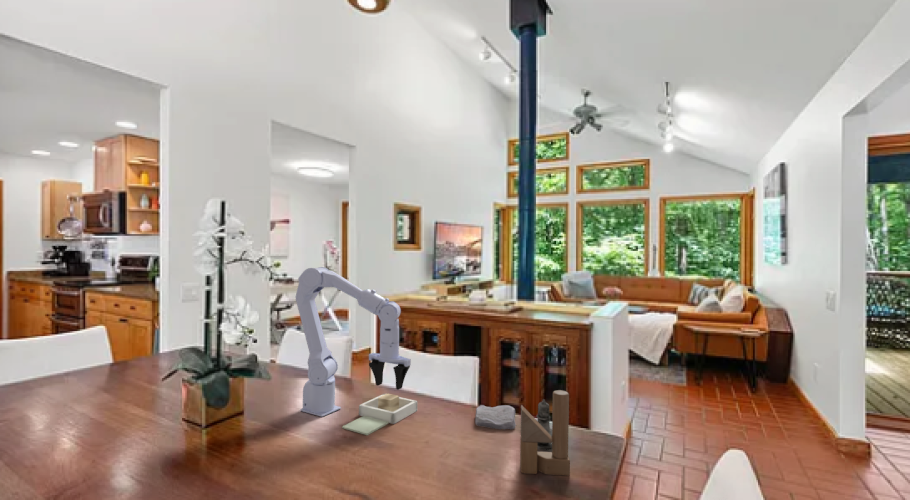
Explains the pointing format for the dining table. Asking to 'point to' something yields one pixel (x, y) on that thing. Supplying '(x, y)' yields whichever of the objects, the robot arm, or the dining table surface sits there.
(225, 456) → the dining table surface
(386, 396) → the wood block
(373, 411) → the box
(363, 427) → the pad
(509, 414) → the stone block
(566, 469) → the wooden block
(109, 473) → the dining table surface
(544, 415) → the salt shaker
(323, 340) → the robot arm
